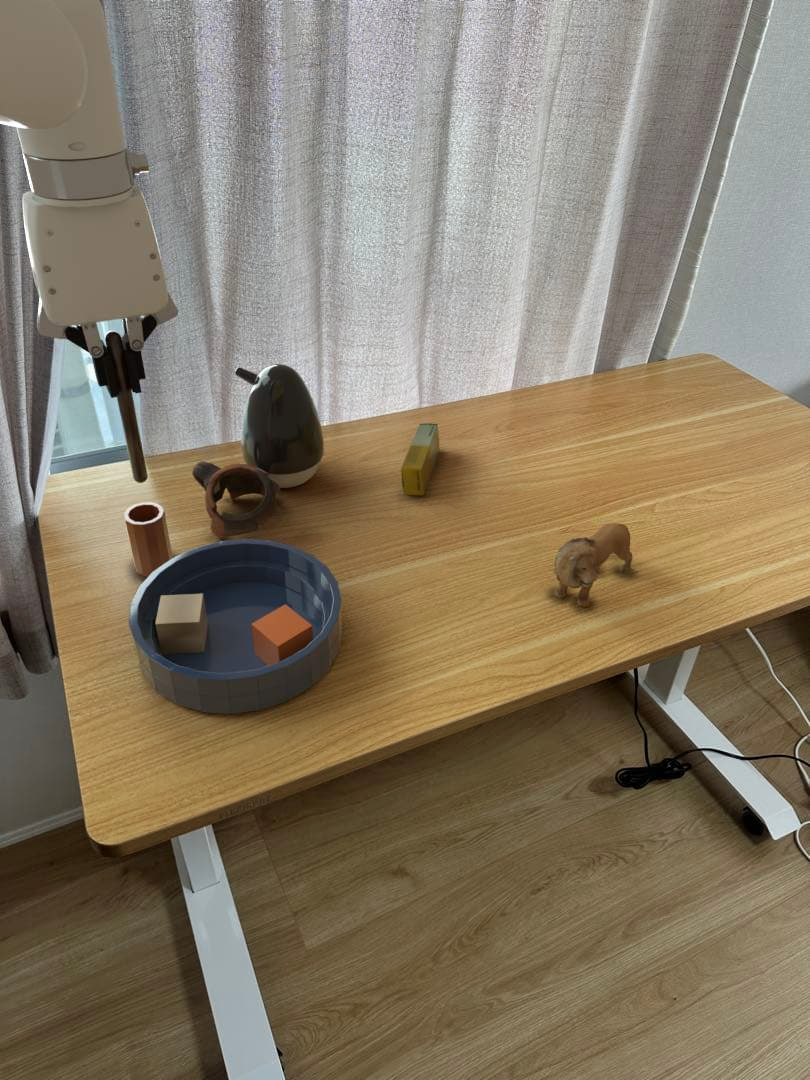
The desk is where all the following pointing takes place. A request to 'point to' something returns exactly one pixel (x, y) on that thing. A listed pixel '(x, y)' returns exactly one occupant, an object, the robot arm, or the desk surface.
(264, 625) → the orange block
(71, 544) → the desk surface
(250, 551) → the bowl
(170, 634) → the pale block
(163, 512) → the holder
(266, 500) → the pottery mug
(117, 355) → the stick
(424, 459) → the medication box
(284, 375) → the pump dispenser
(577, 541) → the lion figurine
